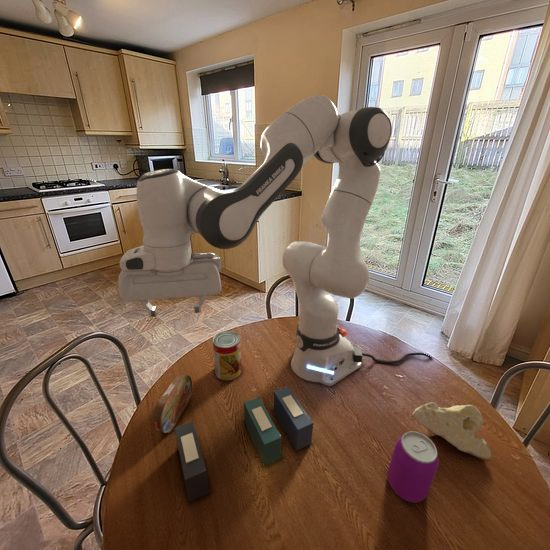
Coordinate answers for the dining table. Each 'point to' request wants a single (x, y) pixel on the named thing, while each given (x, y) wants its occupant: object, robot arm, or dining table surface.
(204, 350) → the dining table surface
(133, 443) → the dining table surface
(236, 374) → the canned food
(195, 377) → the dining table surface
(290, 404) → the block
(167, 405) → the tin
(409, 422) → the dining table surface
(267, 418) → the block
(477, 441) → the cheese
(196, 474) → the block
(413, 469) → the beverage can
